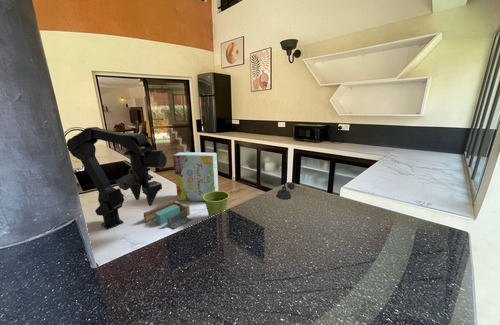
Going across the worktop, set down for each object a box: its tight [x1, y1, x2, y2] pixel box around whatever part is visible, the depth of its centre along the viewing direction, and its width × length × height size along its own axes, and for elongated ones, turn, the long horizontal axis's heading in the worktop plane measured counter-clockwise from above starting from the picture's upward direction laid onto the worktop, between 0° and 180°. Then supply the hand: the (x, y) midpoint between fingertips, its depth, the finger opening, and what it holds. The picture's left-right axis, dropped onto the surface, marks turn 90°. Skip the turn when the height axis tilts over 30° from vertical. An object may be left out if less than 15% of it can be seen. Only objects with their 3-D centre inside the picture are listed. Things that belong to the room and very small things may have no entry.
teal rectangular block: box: [154, 205, 180, 226], centre depth 95 cm, size 4×10×5 cm, turn 145°
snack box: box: [172, 151, 219, 202], centre depth 114 cm, size 22×9×26 cm, turn 84°
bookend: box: [167, 210, 192, 230], centre depth 92 cm, size 4×9×4 cm, turn 145°
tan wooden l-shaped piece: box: [143, 199, 191, 224], centre depth 96 cm, size 11×16×4 cm
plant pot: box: [203, 190, 231, 218], centre depth 95 cm, size 12×12×11 cm
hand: (143, 202), depth 86 cm, fingers open, 9 cm apart
